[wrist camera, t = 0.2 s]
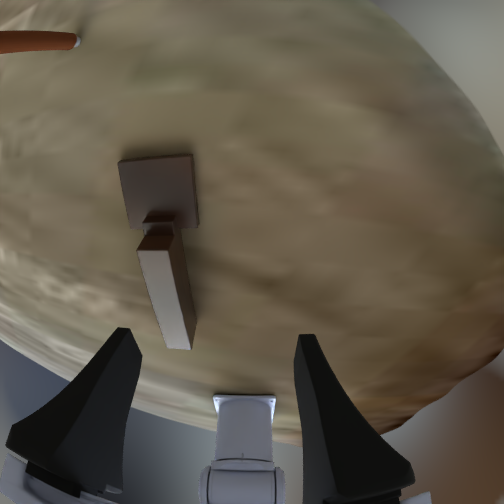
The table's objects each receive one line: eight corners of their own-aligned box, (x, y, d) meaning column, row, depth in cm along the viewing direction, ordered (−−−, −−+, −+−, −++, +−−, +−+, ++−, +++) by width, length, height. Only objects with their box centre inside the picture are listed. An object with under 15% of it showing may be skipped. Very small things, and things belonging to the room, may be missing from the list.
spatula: (212, 322, 25) (208, 351, 22) (159, 320, 25) (151, 347, 23) (192, 153, 17) (180, 169, 14) (120, 159, 17) (98, 176, 14)
